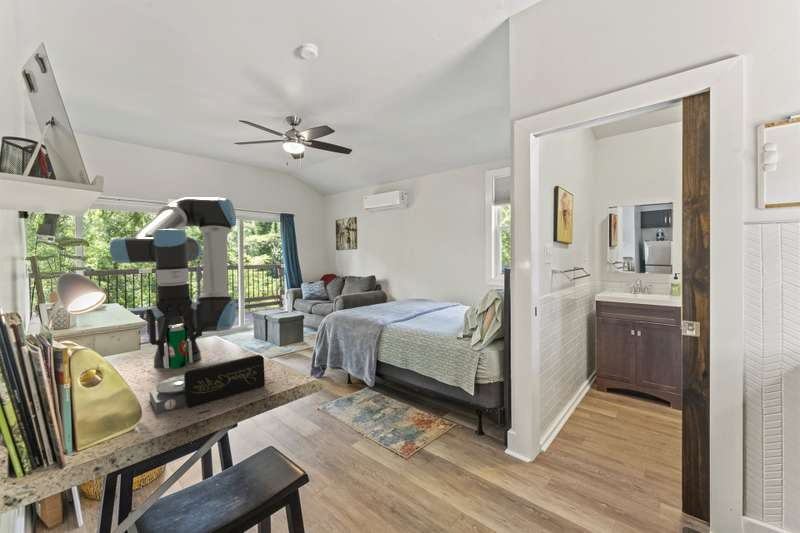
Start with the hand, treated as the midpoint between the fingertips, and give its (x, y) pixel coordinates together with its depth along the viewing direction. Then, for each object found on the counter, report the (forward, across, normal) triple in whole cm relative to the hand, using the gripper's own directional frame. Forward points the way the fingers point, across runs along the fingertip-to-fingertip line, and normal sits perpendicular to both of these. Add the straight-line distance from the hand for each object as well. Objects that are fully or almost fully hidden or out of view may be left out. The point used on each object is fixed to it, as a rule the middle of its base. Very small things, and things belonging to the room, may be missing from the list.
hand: (178, 364), depth 97 cm
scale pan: (+7, 0, 0) cm, 7 cm away
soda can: (+1, 0, 0) cm, 1 cm away
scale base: (+10, 0, 0) cm, 10 cm away
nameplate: (+11, +10, -8) cm, 17 cm away
